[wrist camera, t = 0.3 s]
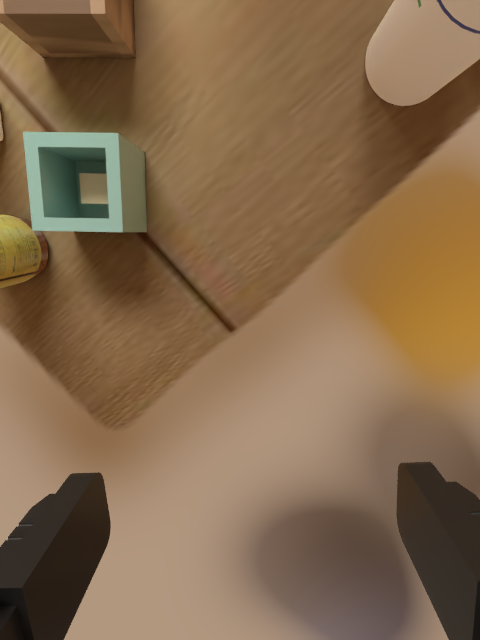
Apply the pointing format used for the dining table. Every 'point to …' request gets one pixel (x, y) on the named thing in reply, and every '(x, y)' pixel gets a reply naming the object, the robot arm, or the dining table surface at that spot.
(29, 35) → the cubby walnut
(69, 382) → the dining table surface
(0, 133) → the salt shaker
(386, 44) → the cylindrical container
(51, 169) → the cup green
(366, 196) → the dining table surface
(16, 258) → the sauce bottle
